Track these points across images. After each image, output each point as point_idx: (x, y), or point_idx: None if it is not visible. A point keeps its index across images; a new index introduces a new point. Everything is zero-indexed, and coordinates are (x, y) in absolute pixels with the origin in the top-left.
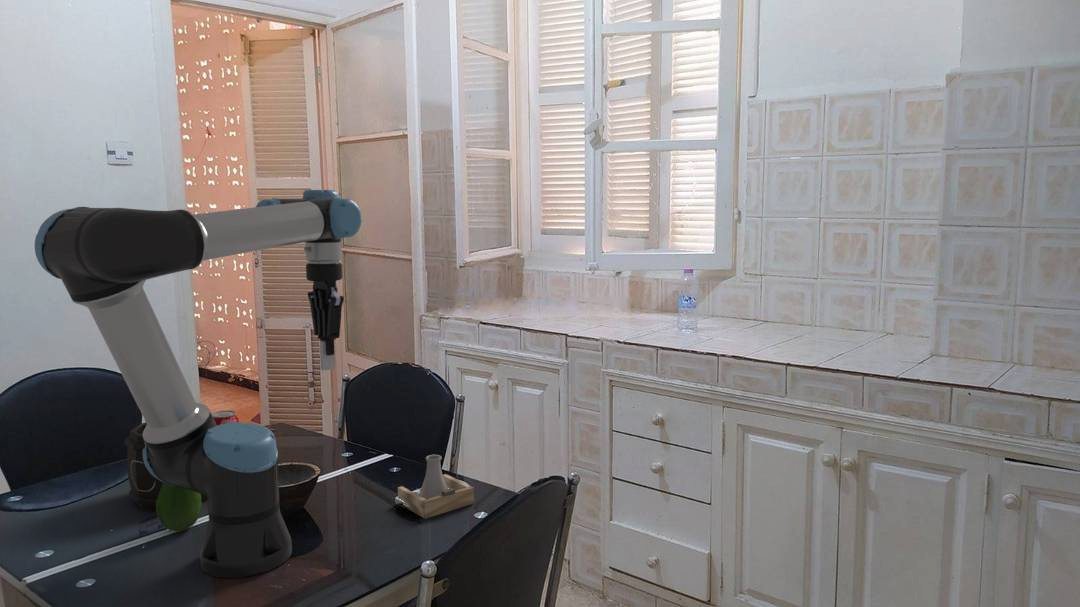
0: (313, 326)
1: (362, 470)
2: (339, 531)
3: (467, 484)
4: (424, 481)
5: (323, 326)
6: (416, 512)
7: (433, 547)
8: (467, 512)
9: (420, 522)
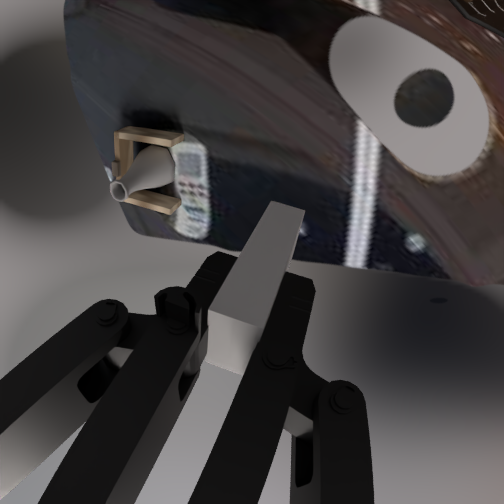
0: (367, 457)
1: (337, 197)
2: (165, 30)
3: (128, 202)
4: (142, 166)
5: (130, 410)
6: (142, 128)
7: (80, 92)
8: None
9: (124, 116)
